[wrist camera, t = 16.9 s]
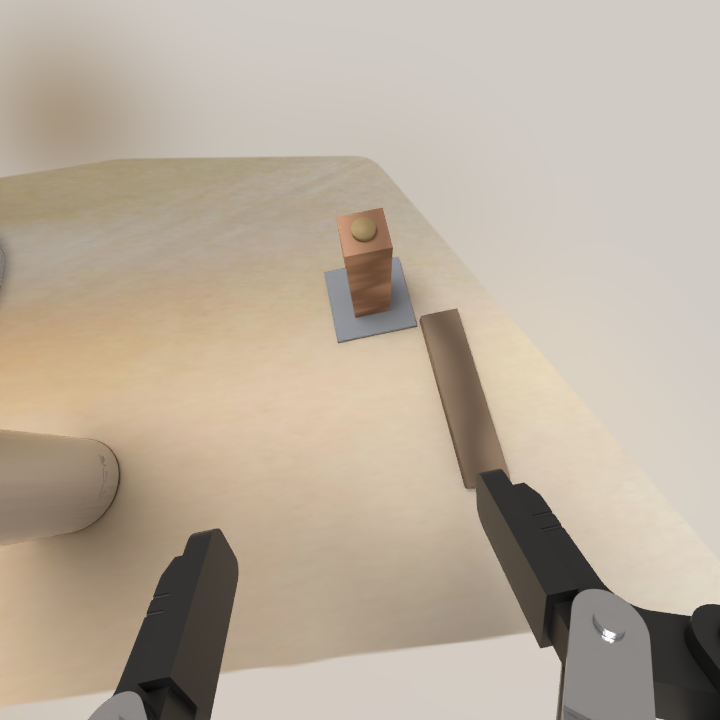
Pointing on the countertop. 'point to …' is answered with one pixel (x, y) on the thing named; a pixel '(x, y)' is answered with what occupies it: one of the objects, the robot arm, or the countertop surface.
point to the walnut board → (462, 396)
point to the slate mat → (373, 323)
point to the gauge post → (367, 260)
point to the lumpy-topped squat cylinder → (1, 265)
